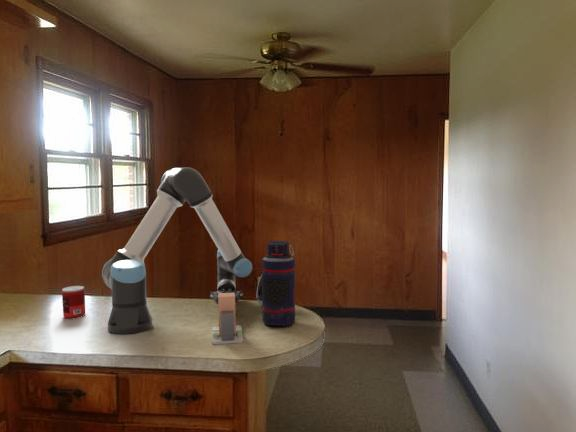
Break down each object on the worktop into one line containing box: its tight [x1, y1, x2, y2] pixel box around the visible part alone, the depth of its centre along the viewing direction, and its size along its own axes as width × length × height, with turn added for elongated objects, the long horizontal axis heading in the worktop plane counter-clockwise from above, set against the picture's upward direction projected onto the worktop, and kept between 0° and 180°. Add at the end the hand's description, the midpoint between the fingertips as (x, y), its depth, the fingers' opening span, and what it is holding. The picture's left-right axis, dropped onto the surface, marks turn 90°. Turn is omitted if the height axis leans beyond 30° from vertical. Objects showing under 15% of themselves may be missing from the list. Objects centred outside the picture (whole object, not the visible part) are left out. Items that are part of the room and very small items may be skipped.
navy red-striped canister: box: [261, 240, 296, 329], centre depth 169 cm, size 14×12×30 cm
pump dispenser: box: [255, 274, 262, 307], centre depth 192 cm, size 10×10×15 cm
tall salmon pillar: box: [213, 293, 243, 336], centre depth 156 cm, size 10×5×13 cm, turn 99°
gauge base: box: [211, 324, 244, 345], centre depth 157 cm, size 10×15×2 cm, turn 9°
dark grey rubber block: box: [221, 311, 234, 341], centre depth 151 cm, size 4×3×9 cm
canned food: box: [61, 285, 86, 320], centre depth 180 cm, size 8×8×11 cm
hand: (226, 306), depth 167 cm, fingers closed
